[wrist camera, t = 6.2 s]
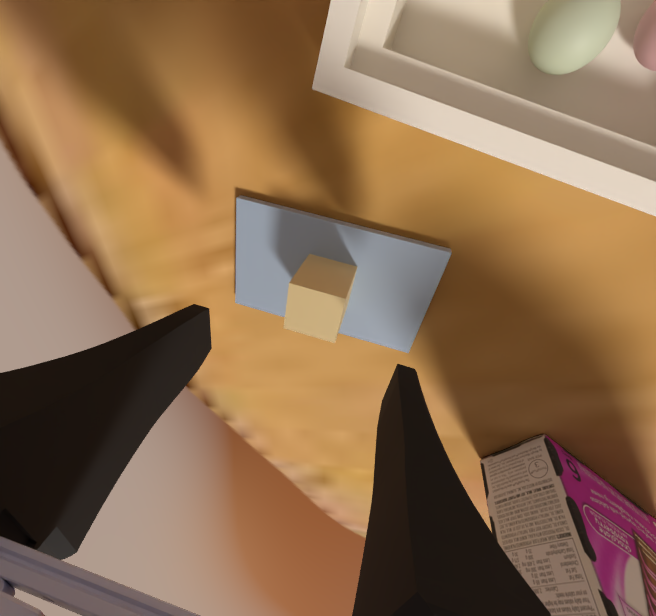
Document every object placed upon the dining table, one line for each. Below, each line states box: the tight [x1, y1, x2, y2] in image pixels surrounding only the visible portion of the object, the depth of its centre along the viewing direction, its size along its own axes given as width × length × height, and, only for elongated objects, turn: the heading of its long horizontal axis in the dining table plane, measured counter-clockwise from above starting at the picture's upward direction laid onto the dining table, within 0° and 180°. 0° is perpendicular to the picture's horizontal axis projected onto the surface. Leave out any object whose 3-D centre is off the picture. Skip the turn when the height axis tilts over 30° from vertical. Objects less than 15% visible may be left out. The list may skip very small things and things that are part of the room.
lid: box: [235, 195, 452, 353], centre depth 15 cm, size 10×6×4 cm, turn 80°
